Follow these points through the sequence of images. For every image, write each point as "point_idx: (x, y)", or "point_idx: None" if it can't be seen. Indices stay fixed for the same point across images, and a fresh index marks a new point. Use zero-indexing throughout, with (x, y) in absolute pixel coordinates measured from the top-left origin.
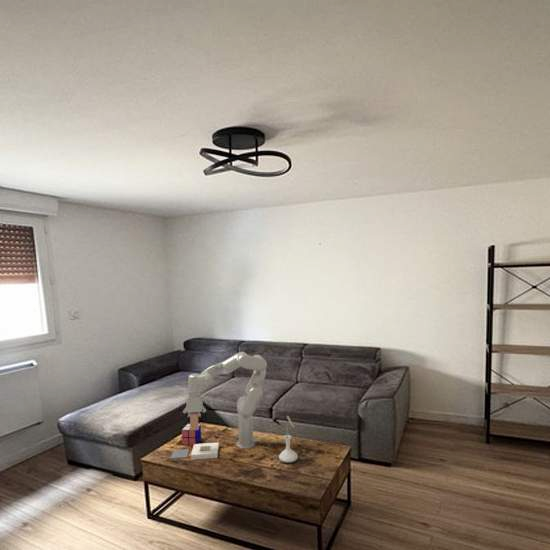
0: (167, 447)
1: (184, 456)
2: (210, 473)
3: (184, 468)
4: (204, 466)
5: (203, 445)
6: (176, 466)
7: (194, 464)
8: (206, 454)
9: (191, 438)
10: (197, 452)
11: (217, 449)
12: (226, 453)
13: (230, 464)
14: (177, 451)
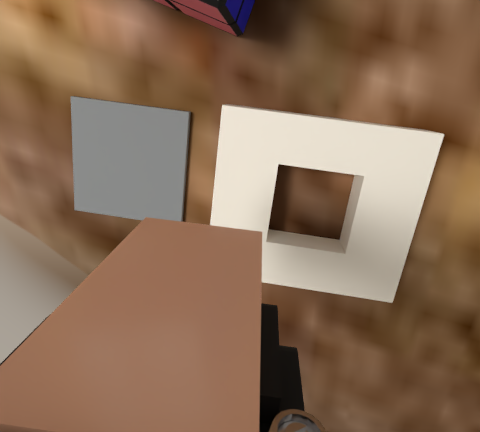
0: (11, 10)
1: (164, 215)
2: (317, 416)
3: None
4: None
5: (302, 153)
6: None
7: None
8: (313, 287)
9: (192, 9)
10: None
11: (405, 255)
12: (458, 249)
13: (444, 377)
14: (104, 125)
